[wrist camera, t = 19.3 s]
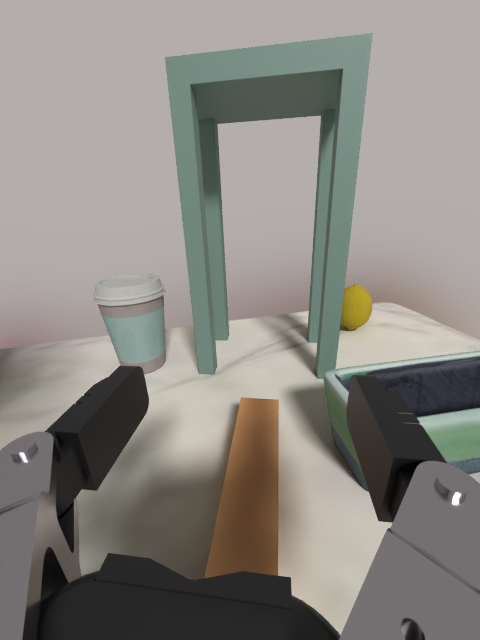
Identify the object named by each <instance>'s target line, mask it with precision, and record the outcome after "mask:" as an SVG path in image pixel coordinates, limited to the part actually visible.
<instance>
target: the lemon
mask: <svg viewBox="0 0 480 640" xmlns="http://www.w3.org/2000/svg"><path fill="white" fill-rule="evenodd" d="M371 312H372V300H371V296H370V294H369V293H368V291H366V290H365V289H364V288H362V287H360V286H359V285H358V284H354V285H353V286H350V287H348V288H346V289H344V296H343V305H342V314H341V324H342V325H343V326H346V327H347V328H348V329H349V330H353V329H355V328H358V327H361V326H362V325H364V324H365V323H366V322H367V321H368V319H369V317H370V315H371Z"/></svg>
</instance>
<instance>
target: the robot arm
mask: <svg viewBox="0 0 480 640" xmlns="http://www.w3.org/2000/svg"><path fill="white" fill-rule="evenodd" d="M148 405H149V398H148V392H147V387H146V382H145V377H144V372H143V369H142V367H140V366H119V367H118V368H117V369H116V370H115V371H114V372H113V373H112V374H111V375H110V376H109V377H108V378H105V379H103V380H101V381H100V382H98V383H96V384H95V385H93V386H92V387H91V388H90V389H89V390H88V391H87V392H86V393H85V394H84V396H82V397H81V398H80V399H79V400H78V401H76V404H73V405H72V406H71V407H70V408H69V409H68V410H67V411H66V412H65V413H64V414H63V415H62V416H61V417H60V418H59V419H58V420H57V421H56V422H55V423H53V424H52V425H51V426H50V427H49V428H48V429H47V430H46V431H45V432H35V433H31V434H28V435H25V436H22V437H20V438H18V439H16V440H14V441H13V442H11V443H9V444H8V445H7V446H5V447H4V448H3V449H2V450H1V451H0V640H480V484H479V483H478V482H477V481H476V480H475V479H474V478H472V477H471V476H470V475H468V474H467V473H465V472H464V471H462V470H460V469H458V468H457V467H454V466H452V465H450V464H448V463H447V462H446V460H445V459H444V457H443V456H442V454H441V453H440V451H439V450H438V448H437V447H436V446H435V444H434V443H433V441H432V440H431V438H430V437H429V435H428V434H427V432H426V431H425V429H424V428H423V426H422V425H420V422H419V420H418V419H417V417H416V416H415V415H413V411H412V410H411V408H410V407H409V405H408V404H407V402H406V401H405V400H404V399H402V398H401V397H400V396H398V395H397V394H396V393H395V392H393V391H387V390H384V389H383V387H382V385H381V384H380V382H379V380H378V379H377V377H376V376H371V375H352V376H351V380H350V387H349V394H348V401H347V409H346V419H347V426H348V429H349V432H350V435H351V438H352V441H353V444H354V448H355V451H356V454H357V457H358V460H359V463H360V466H361V469H362V472H363V475H364V478H365V481H366V484H367V487H368V490H369V493H370V496H371V499H372V503H373V506H374V509H375V512H376V515H377V518H378V521H383V522H393V524H392V526H391V528H388V529H387V531H386V533H385V535H384V537H383V539H382V542H381V544H380V546H379V549H378V551H377V553H376V555H375V558H374V560H373V562H372V565H371V567H370V569H369V572H368V574H367V576H366V578H365V581H364V583H363V585H362V588H361V590H360V592H359V595H358V597H357V599H356V601H355V604H354V606H353V608H352V611H351V613H350V615H349V618H348V620H347V622H346V624H345V627H344V629H343V631H342V634H341V636H340V634H339V633H338V632H337V631H336V630H335V628H334V627H333V626H332V625H331V624H330V623H329V622H328V621H327V620H326V619H325V618H324V617H323V616H322V615H321V614H319V613H318V612H317V611H316V610H315V609H314V608H312V607H311V606H309V605H308V604H306V603H305V602H303V601H302V600H300V599H298V598H296V597H294V596H292V595H291V577H283V576H276V575H268V574H261V573H253V572H246V571H241V572H236V573H230V574H225V575H220V576H215V577H209V578H204V579H199V580H190V579H187V578H185V577H184V576H182V575H180V574H178V573H176V572H174V571H172V570H170V569H169V568H167V567H165V566H163V565H161V564H159V563H157V562H155V561H154V560H152V559H149V558H141V557H134V556H126V555H119V554H111V553H108V555H107V557H106V559H105V561H104V563H103V565H102V567H101V569H100V571H96V572H93V573H90V574H87V575H84V576H82V575H81V570H80V563H79V527H78V501H77V499H76V496H77V495H78V494H79V492H80V491H81V489H85V490H95V491H97V489H98V488H99V486H100V485H101V483H102V481H103V480H104V478H105V477H106V475H107V474H108V472H109V471H110V469H111V467H112V466H113V464H114V463H115V461H116V460H117V458H118V456H119V455H120V453H121V452H122V450H123V449H124V447H125V446H126V444H127V442H128V441H129V439H130V438H131V436H132V435H133V433H134V432H135V430H136V428H137V427H138V425H139V424H140V422H141V421H142V419H143V418H144V416H145V414H146V412H147V410H148Z"/></svg>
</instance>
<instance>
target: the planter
mask: <svg viewBox="0 0 480 640" xmlns="http://www.w3.org/2000/svg"><path fill="white" fill-rule="evenodd" d="M352 375H371V376H376V377H377V379H378V380H379V382H380V384H381V385H382V387H383V389H384V390H387V391H393V392H395V393H396V394H397V395H398V396H400V397H401V398H402V399H404V400H405V401H406V402H407V404H408V405H409V407H410V408H411V410H412V411H413V415H415V416H416V417H417V419H418V420H419V422H420V425H422V426H423V428H424V429H425V431H426V432H427V434H428V435H429V437H430V438H431V440H432V441H433V443H434V444H435V446H436V447H437V448H438V450H439V451H440V453H441V454H442V456H443V457H444V459H445V460H446V462H447V463H448V464H450V465H452V466H454V467H457V468H458V469H460V470H462V471H464V472H465V473H467V474H472V473H477V472H480V351H474V352H465V353H457V354H449V355H441V356H434V357H426V358H418V359H410V360H402V361H394V362H386V363H378V364H370V365H362V366H355V367H347V368H340V369H334V370H329V371H326V372H325V373H324V386H325V393H326V399H327V405H328V411H329V417H330V422H331V427H332V433H333V437H334V441H335V444H336V446H337V448H338V449H339V451H340V453H341V454H342V456H343V458H344V459H345V461H346V463H347V464H348V466H349V467H350V469H351V471H352V472H353V474H354V475H355V477H356V479H357V480H358V482H359V483H360V485H361V486H362V487H363V488H364V489H365V490H367V491H369V490H368V487H367V484H366V481H365V478H364V475H363V472H362V469H361V466H360V463H359V460H358V457H357V454H356V451H355V448H354V444H353V441H352V438H351V435H350V432H349V429H348V426H347V419H346V409H347V401H348V394H349V387H350V380H351V376H352Z"/></svg>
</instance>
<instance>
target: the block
mask: <svg viewBox="0 0 480 640" xmlns="http://www.w3.org/2000/svg"><path fill="white" fill-rule="evenodd" d="M278 409H279V400H273V399H255V398H241V400H240V405H239V410H238V415H237V420H236V425H235V430H234V435H233V439H232V444H231V449H230V454H229V459H228V464H227V469H226V474H225V479H224V483H223V488H222V493H221V498H220V503H219V508H218V513H217V518H216V523H215V527H214V532H213V537H212V542H211V547H210V552H209V557H208V562H207V567H206V572H205V576H204V578H209V577H215V576H220V575H225V574H230V573H236V572H241V571H246V572H253V573H261V574H268V575H276V576H278Z"/></svg>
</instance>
